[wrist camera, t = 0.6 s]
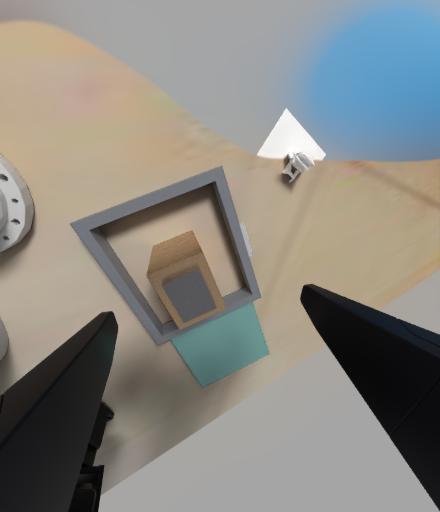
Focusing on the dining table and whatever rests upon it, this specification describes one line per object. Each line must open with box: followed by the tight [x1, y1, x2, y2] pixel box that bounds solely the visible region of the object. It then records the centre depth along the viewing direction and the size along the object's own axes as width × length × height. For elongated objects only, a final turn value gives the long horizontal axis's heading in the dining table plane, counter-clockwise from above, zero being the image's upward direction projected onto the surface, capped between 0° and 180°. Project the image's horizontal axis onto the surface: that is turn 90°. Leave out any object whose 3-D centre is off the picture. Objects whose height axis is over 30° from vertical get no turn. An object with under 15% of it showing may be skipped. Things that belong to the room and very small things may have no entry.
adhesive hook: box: [282, 149, 314, 183], centre depth 19 cm, size 3×3×3 cm
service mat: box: [171, 302, 269, 388], centre depth 28 cm, size 12×12×1 cm
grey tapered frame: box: [70, 166, 261, 345], centre depth 21 cm, size 15×16×2 cm
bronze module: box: [147, 230, 226, 330], centre depth 18 cm, size 4×6×8 cm
